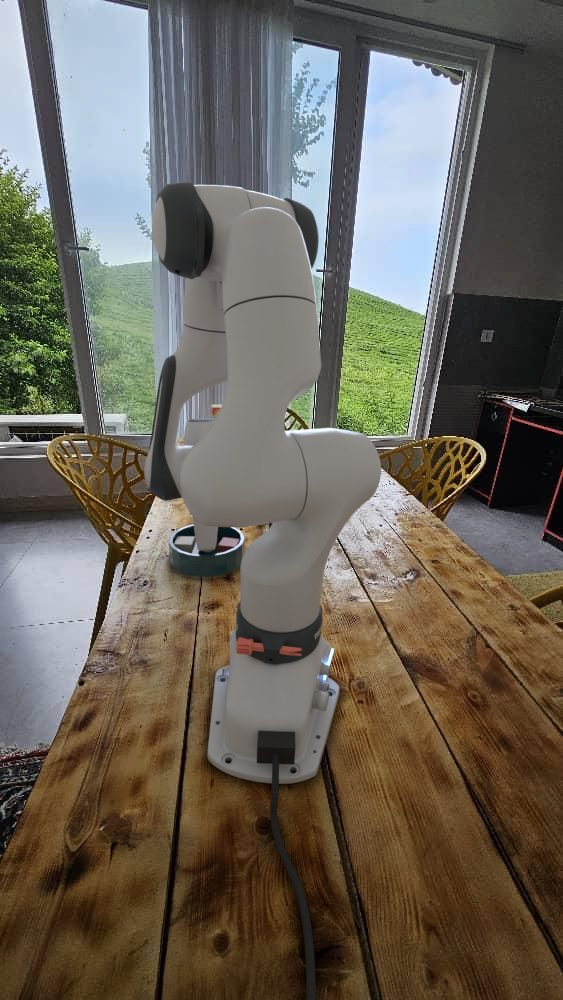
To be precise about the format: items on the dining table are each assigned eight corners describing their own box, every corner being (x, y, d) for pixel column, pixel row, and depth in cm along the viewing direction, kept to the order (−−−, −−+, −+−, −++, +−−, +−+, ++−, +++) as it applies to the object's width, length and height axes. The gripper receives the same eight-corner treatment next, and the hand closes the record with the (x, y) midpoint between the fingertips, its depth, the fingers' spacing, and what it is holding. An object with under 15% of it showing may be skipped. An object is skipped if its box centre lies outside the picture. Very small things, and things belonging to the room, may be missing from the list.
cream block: (192, 560, 100) (191, 544, 98) (174, 559, 100) (173, 544, 98) (195, 551, 104) (195, 536, 102) (178, 551, 103) (177, 535, 102)
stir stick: (196, 572, 95) (196, 560, 94) (189, 572, 95) (188, 559, 94) (205, 546, 106) (204, 535, 105) (198, 546, 106) (198, 535, 105)
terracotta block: (235, 562, 100) (235, 547, 98) (218, 560, 100) (217, 545, 99) (240, 554, 103) (240, 539, 102) (223, 552, 104) (223, 537, 102)
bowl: (234, 582, 93) (234, 559, 91) (158, 574, 95) (157, 552, 93) (250, 546, 108) (250, 526, 106) (184, 540, 110) (183, 519, 108)
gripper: (193, 476, 105) (195, 529, 110) (188, 510, 86) (191, 572, 91) (220, 476, 105) (221, 529, 111) (221, 510, 87) (222, 571, 92)
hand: (207, 549), depth 101 cm, fingers closed
